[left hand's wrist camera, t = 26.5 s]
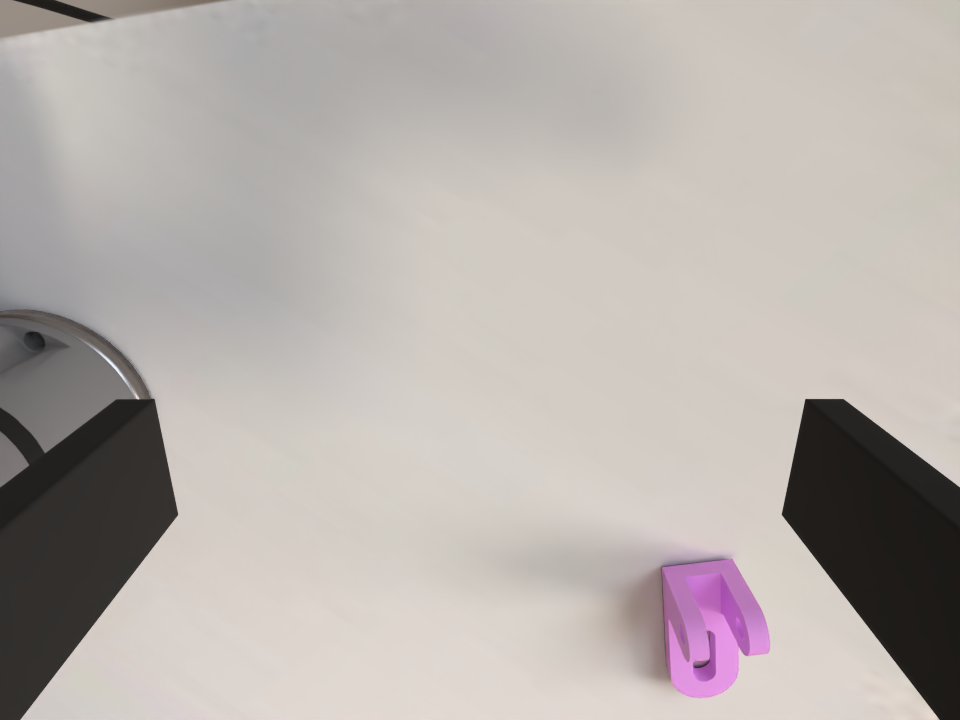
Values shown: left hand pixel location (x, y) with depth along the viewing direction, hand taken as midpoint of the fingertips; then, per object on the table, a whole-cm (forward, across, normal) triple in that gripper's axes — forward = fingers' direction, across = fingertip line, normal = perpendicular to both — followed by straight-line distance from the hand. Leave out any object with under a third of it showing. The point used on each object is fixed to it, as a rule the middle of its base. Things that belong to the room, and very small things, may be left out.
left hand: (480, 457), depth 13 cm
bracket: (+29, -18, +33) cm, 48 cm away
